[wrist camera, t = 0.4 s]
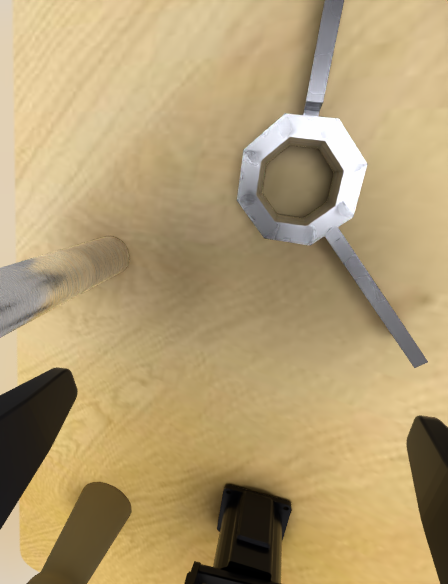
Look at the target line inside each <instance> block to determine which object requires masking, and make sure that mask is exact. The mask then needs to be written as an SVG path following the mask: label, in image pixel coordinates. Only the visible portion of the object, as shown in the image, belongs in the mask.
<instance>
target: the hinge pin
mask: <svg viewBox="0 0 448 584" xmlns="http://www.w3.org/2000/svg"><path fill="white" fill-rule="evenodd" d="M128 264H129V252H128V250H127V248H126V246H125V244H124V243H123V242H122V241H121V240H119V239H118V238H116V237H113V236H105V237H101V238H98V239H95V240H91V241H88V242H85V243H81V244H78V245H75V246H71V247H68V248H65V249H61V250H58V251H55V252H51V253H48V254H45V255H41V256H38V257H35V258H31V259H28V260H25V261H21V262H18V263H15V264H12V265H8V266H5V267H2V268H0V338H1V337H3V336H4V335H6V334H8V333H10V332H12V331H14V330H15V329H17V328H19V327H21V326H23V325H25V324H27V323H28V322H30V321H32V320H34V319H36V318H38V317H39V316H41V315H43V314H45V313H47V312H49V311H51V310H52V309H54V308H56V307H58V306H60V305H62V304H63V303H65V302H67V301H69V300H71V299H73V298H75V297H76V296H78V295H80V294H82V293H84V292H86V291H87V290H89V289H91V288H93V287H95V286H97V285H98V284H100V283H102V282H104V281H106V280H108V279H110V278H111V277H113V276H115V275H117V274H119V273H121V272H122V271H124V270H125V269H126V268H127V266H128Z"/></svg>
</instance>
